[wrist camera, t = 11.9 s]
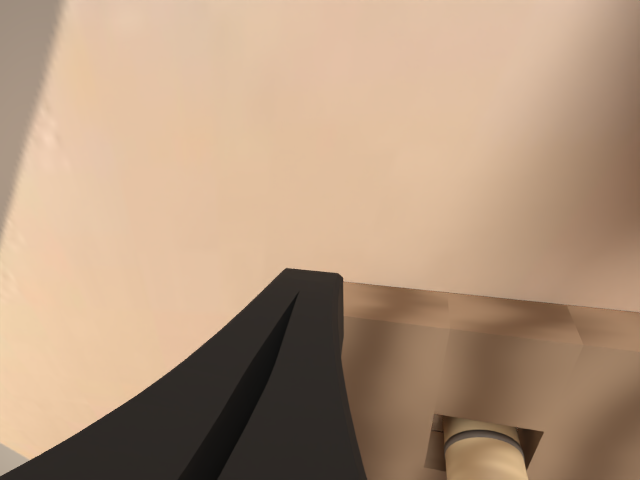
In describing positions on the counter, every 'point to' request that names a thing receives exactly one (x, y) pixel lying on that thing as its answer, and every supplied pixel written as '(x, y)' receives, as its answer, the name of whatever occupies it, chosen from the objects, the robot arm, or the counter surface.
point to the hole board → (491, 381)
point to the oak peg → (482, 451)
